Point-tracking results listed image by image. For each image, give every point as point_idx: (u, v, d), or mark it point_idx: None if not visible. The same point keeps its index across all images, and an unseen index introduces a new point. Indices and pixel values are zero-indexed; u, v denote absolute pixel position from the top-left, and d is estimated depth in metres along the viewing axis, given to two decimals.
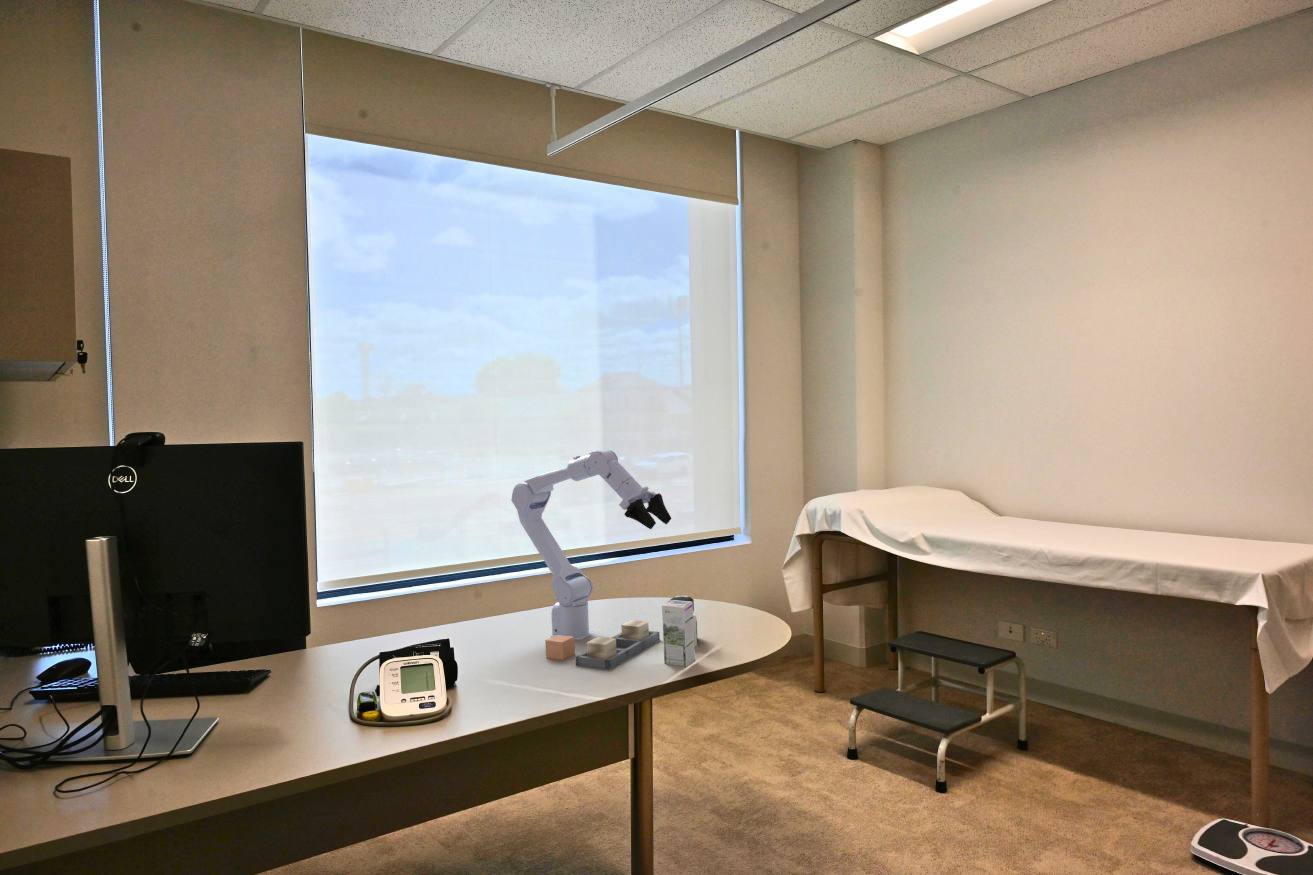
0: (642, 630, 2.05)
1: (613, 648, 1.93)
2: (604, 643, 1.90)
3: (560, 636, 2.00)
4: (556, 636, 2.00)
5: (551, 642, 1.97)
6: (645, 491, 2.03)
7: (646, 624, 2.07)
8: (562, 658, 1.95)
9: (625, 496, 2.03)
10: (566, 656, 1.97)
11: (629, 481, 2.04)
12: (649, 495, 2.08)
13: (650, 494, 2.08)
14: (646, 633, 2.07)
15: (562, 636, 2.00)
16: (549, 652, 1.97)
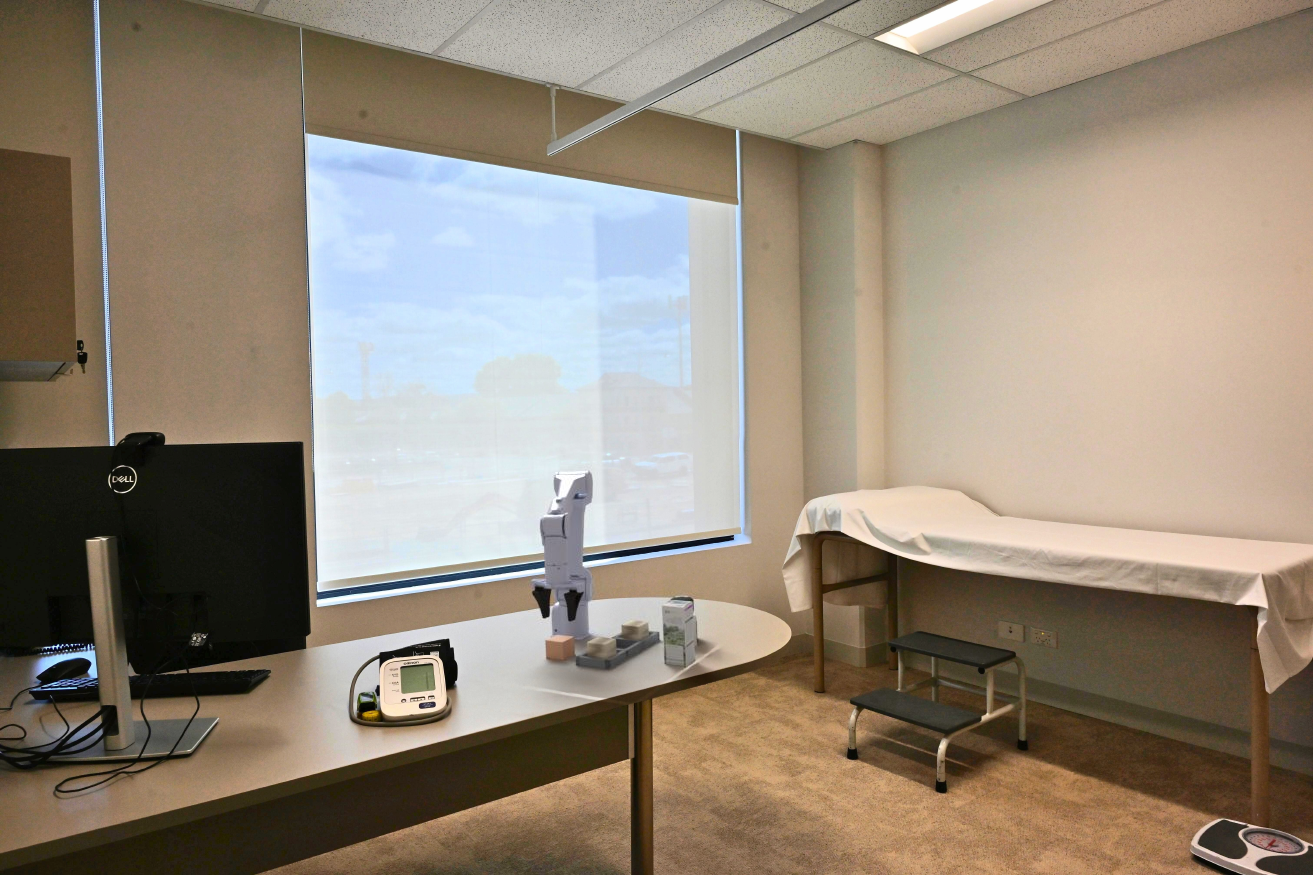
0: (642, 630, 2.05)
1: (613, 648, 1.93)
2: (604, 643, 1.90)
3: (560, 636, 2.00)
4: (556, 636, 2.00)
5: (551, 642, 1.97)
6: None
7: (646, 624, 2.07)
8: (562, 658, 1.95)
9: None
10: (566, 656, 1.97)
11: (545, 568, 1.96)
12: None
13: None
14: (646, 633, 2.07)
15: (562, 636, 2.00)
16: (549, 652, 1.97)
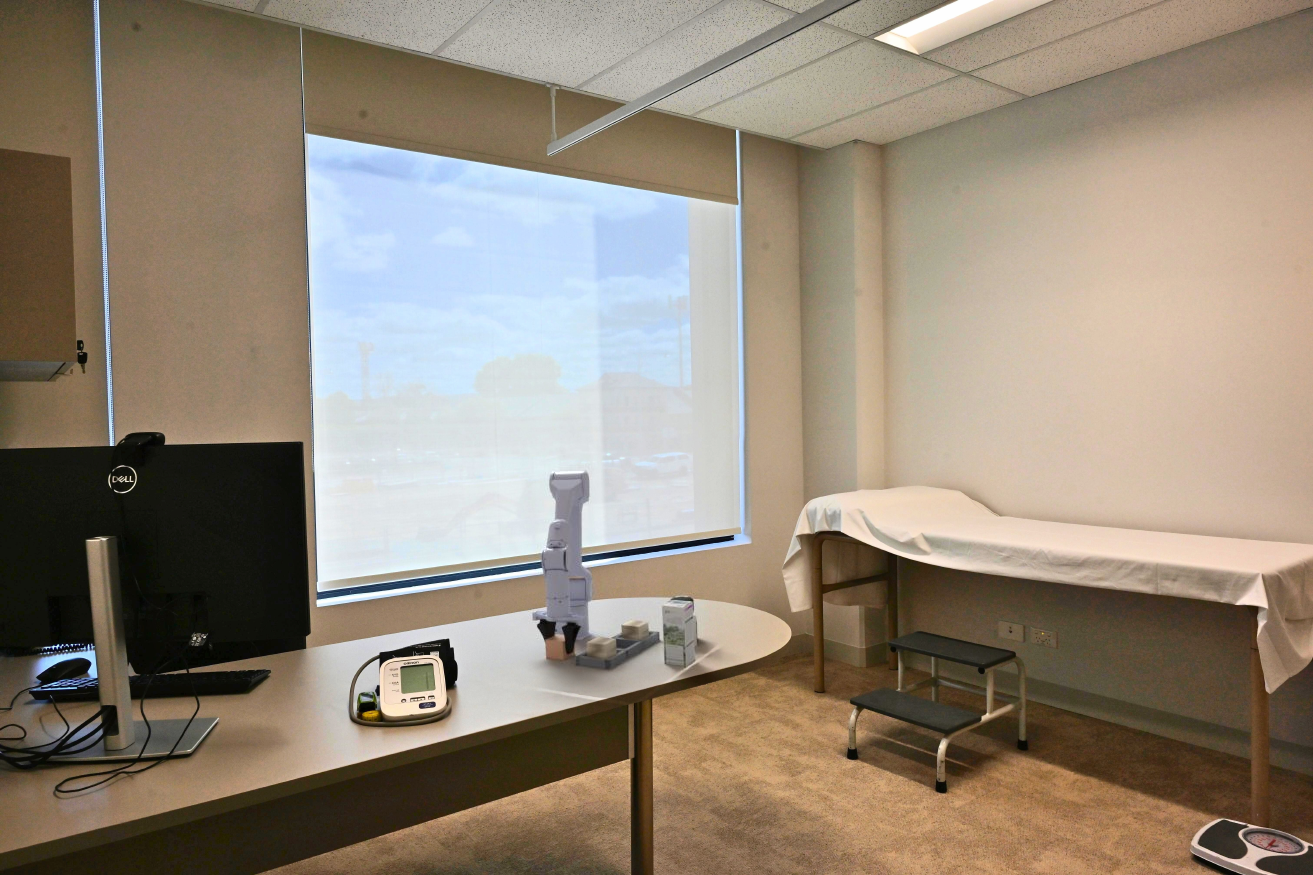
0: (642, 630, 2.05)
1: (613, 648, 1.93)
2: (604, 643, 1.90)
3: (560, 636, 2.00)
4: (556, 636, 2.00)
5: (551, 642, 1.97)
6: None
7: (646, 624, 2.07)
8: (562, 658, 1.95)
9: None
10: (566, 656, 1.97)
11: (547, 601, 1.97)
12: None
13: None
14: (646, 633, 2.07)
15: (562, 636, 2.00)
16: (549, 652, 1.97)
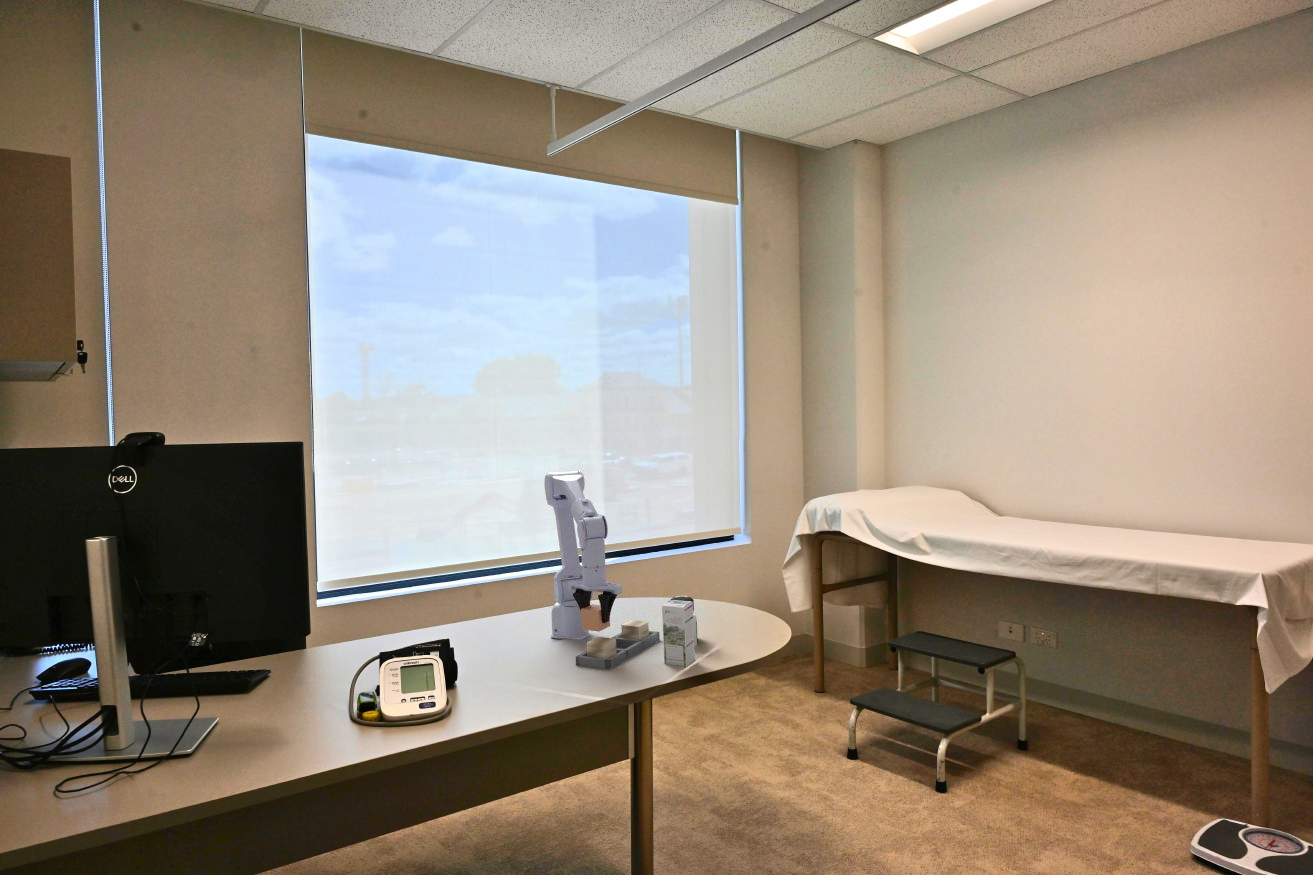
0: (642, 630, 2.05)
1: (613, 648, 1.93)
2: (604, 643, 1.90)
3: (595, 605, 2.01)
4: (591, 605, 2.01)
5: (587, 611, 1.97)
6: None
7: (646, 624, 2.07)
8: (598, 627, 1.96)
9: None
10: (602, 625, 1.97)
11: (583, 570, 1.97)
12: None
13: None
14: (646, 633, 2.07)
15: (597, 605, 2.00)
16: (585, 621, 1.97)
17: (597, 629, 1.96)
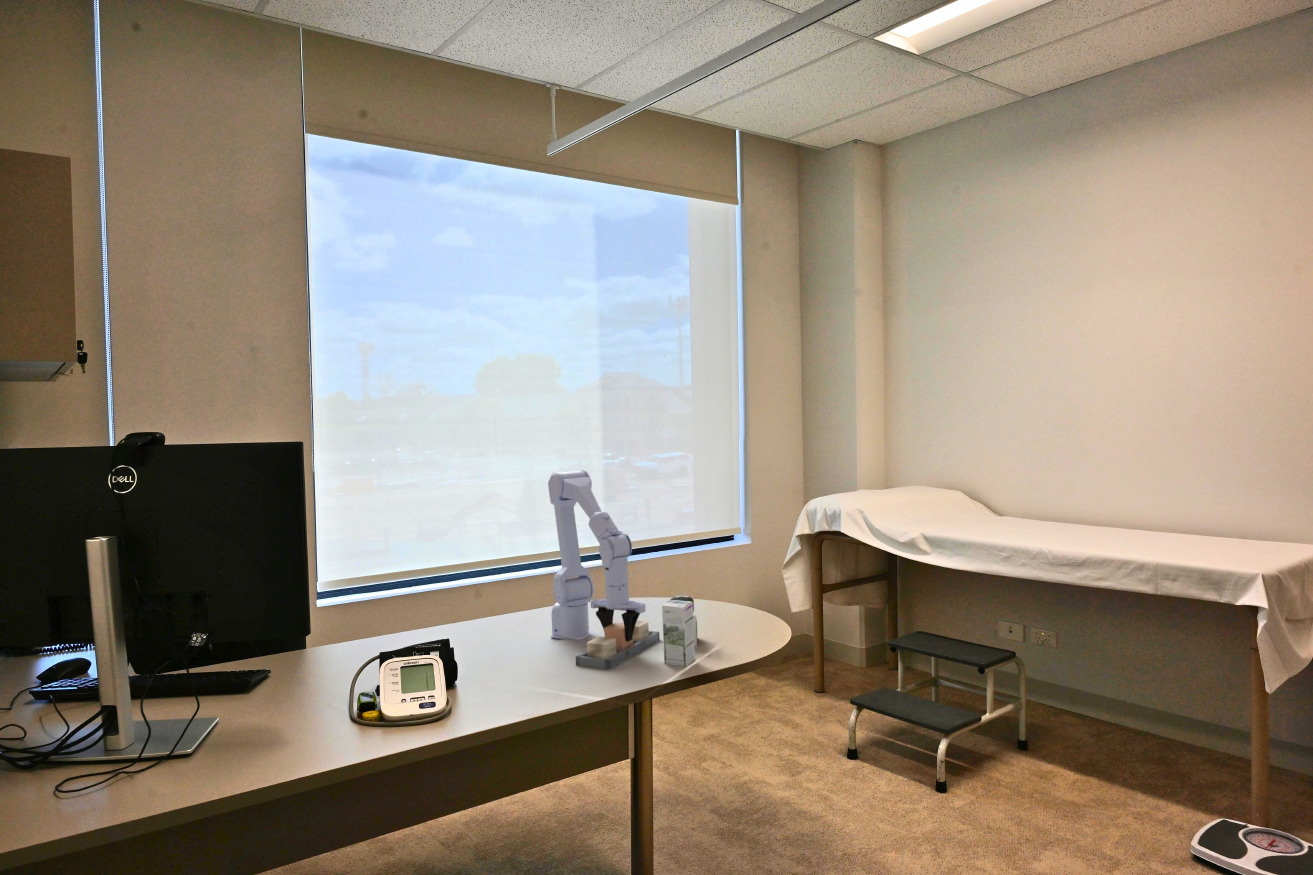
0: (642, 630, 2.05)
1: (613, 648, 1.93)
2: (604, 643, 1.90)
3: (618, 624, 2.01)
4: (614, 624, 2.01)
5: (610, 629, 1.98)
6: None
7: (646, 624, 2.07)
8: (621, 645, 1.97)
9: None
10: (625, 643, 1.98)
11: (606, 588, 1.98)
12: None
13: None
14: (646, 633, 2.07)
15: (620, 624, 2.01)
16: None
17: (621, 648, 1.97)
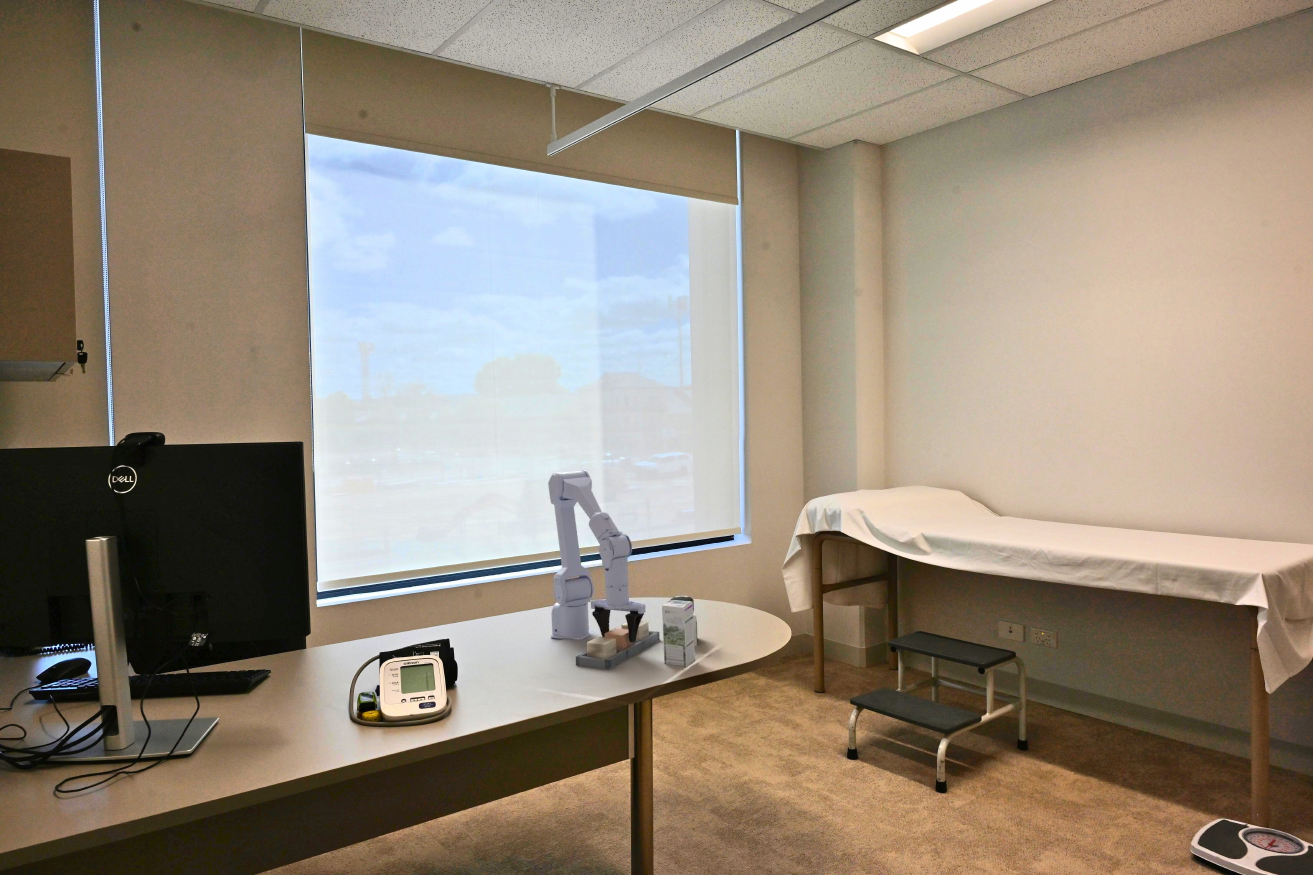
0: (642, 630, 2.05)
1: (613, 648, 1.93)
2: (604, 643, 1.90)
3: (618, 629, 2.01)
4: (614, 629, 2.01)
5: (611, 635, 1.98)
6: None
7: (646, 624, 2.07)
8: None
9: None
10: None
11: (606, 589, 1.98)
12: None
13: None
14: (646, 633, 2.07)
15: (620, 629, 2.01)
16: None
17: None
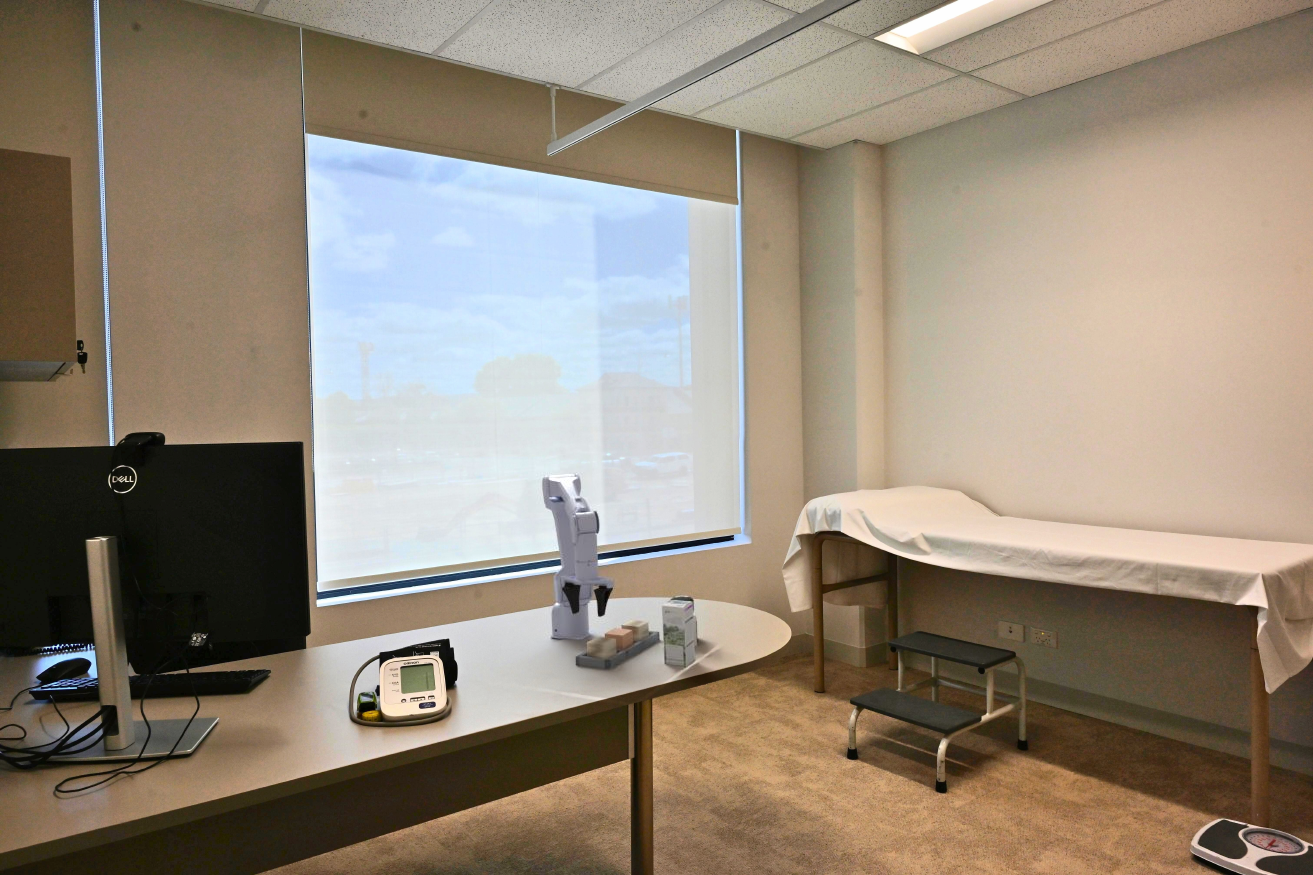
0: (642, 630, 2.05)
1: (613, 648, 1.93)
2: (604, 643, 1.90)
3: (618, 629, 2.01)
4: (614, 629, 2.01)
5: (611, 635, 1.98)
6: None
7: (646, 624, 2.07)
8: None
9: None
10: None
11: (575, 564, 2.01)
12: None
13: None
14: (646, 633, 2.07)
15: (620, 629, 2.01)
16: None
17: None
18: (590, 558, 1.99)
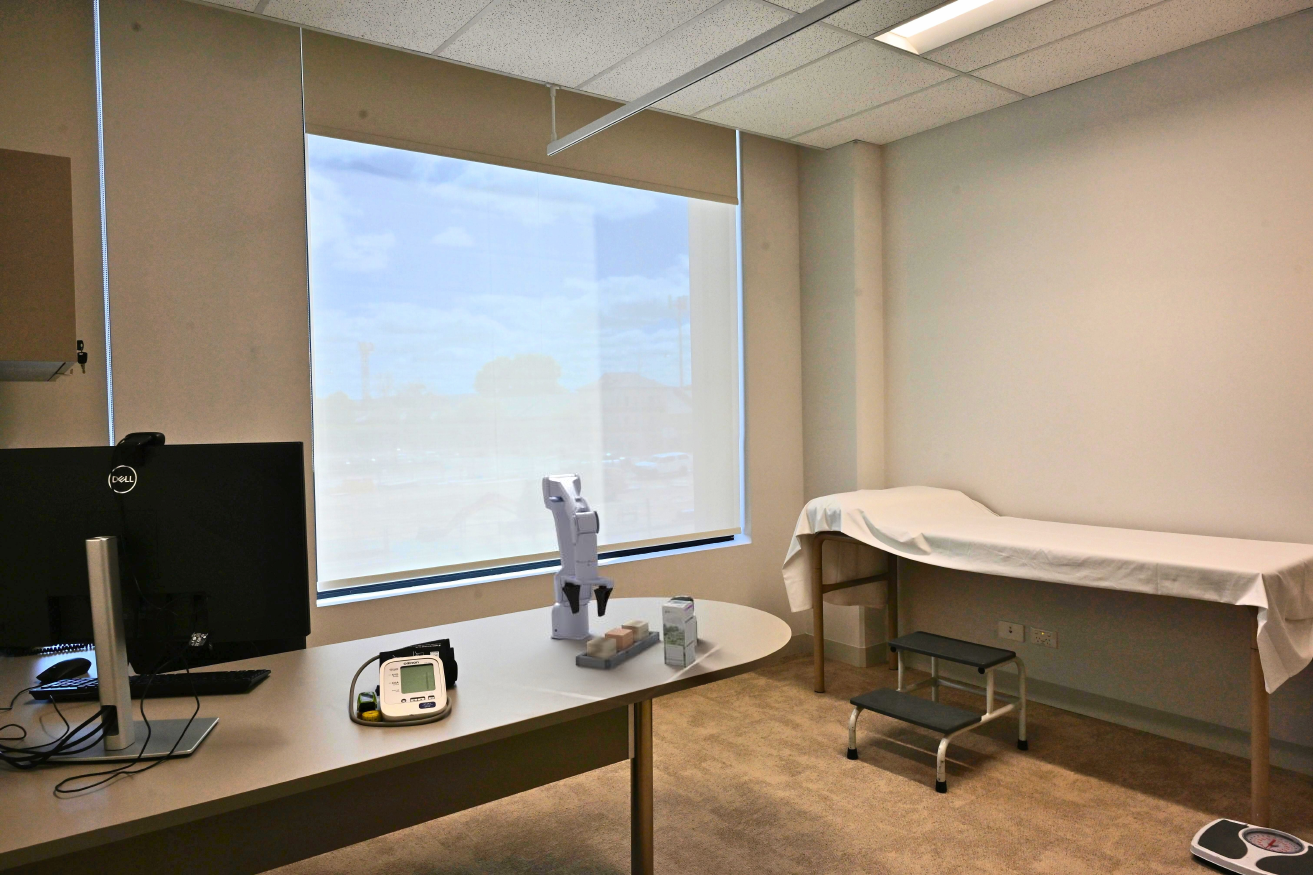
0: (642, 630, 2.05)
1: (613, 648, 1.93)
2: (604, 643, 1.90)
3: (618, 629, 2.01)
4: (614, 629, 2.01)
5: (611, 635, 1.98)
6: None
7: (646, 624, 2.07)
8: None
9: None
10: None
11: (575, 564, 2.01)
12: None
13: None
14: (646, 633, 2.07)
15: (620, 629, 2.01)
16: None
17: None
18: (590, 558, 1.99)
